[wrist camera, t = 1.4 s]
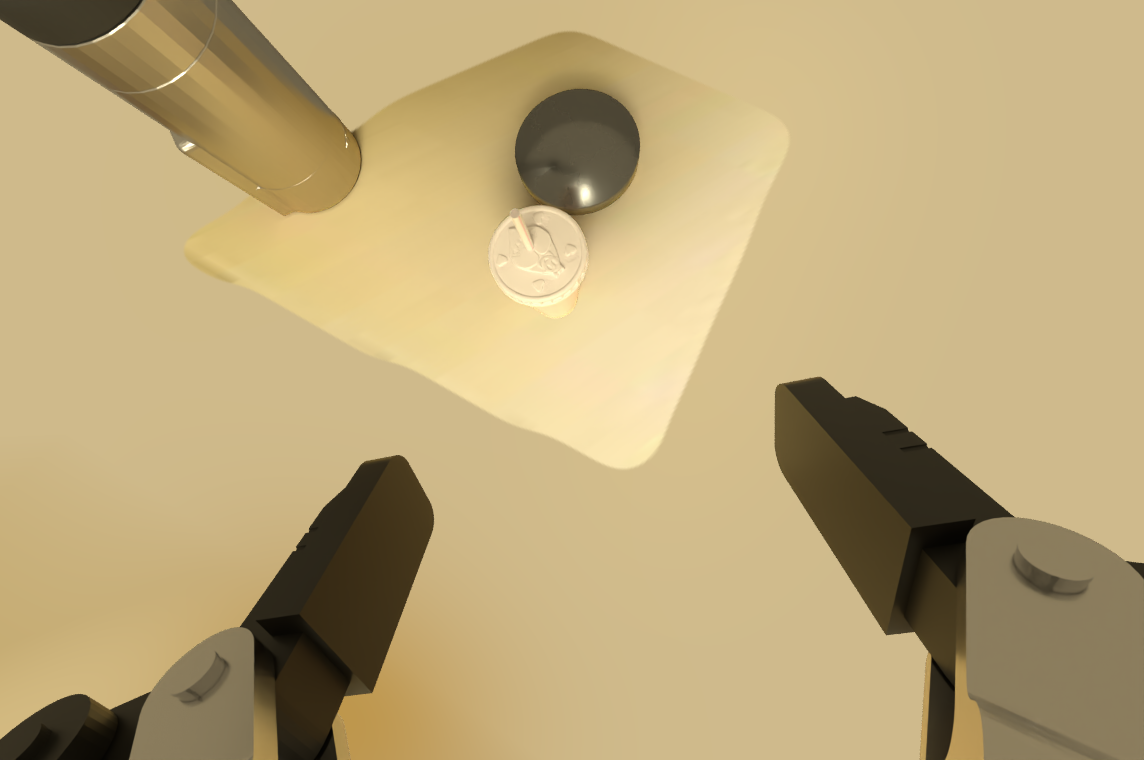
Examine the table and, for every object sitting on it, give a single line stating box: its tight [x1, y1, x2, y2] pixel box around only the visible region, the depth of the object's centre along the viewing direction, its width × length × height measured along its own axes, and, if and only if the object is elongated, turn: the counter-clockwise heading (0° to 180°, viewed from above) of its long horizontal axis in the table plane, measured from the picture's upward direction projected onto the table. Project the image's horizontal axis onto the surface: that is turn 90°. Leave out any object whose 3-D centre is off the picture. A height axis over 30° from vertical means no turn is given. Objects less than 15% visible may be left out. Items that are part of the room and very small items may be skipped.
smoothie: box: [488, 205, 589, 318], centre depth 28 cm, size 6×6×14 cm
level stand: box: [515, 89, 640, 215], centre depth 35 cm, size 10×10×3 cm
